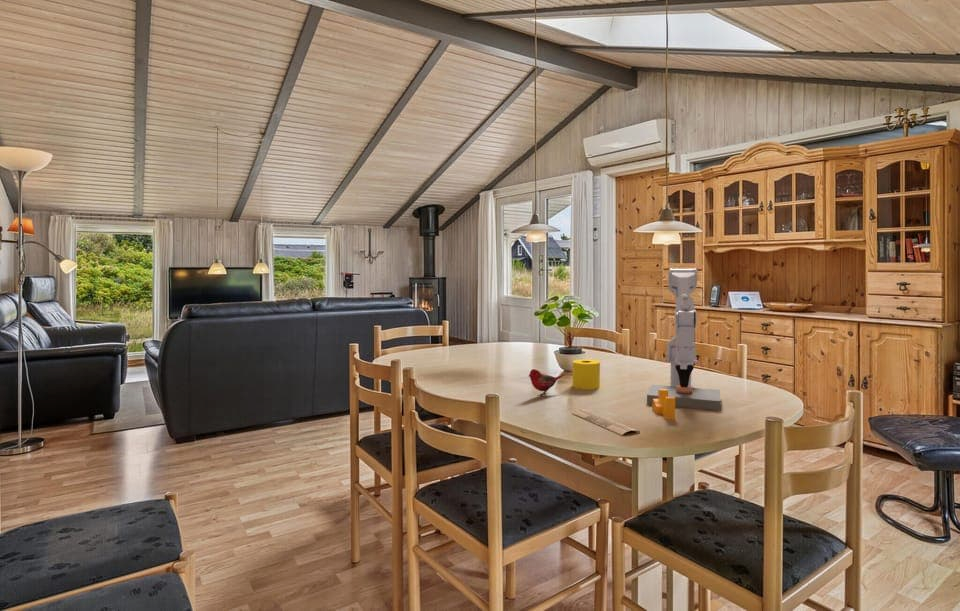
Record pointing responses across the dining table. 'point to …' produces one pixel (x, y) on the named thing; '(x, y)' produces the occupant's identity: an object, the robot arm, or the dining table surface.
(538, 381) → the decorative bird figurine
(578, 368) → the yellow toilet paper roll
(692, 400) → the plate
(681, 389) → the knob
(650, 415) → the dining table surface
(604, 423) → the newspaper
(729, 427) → the dining table surface
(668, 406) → the pipe clamp
